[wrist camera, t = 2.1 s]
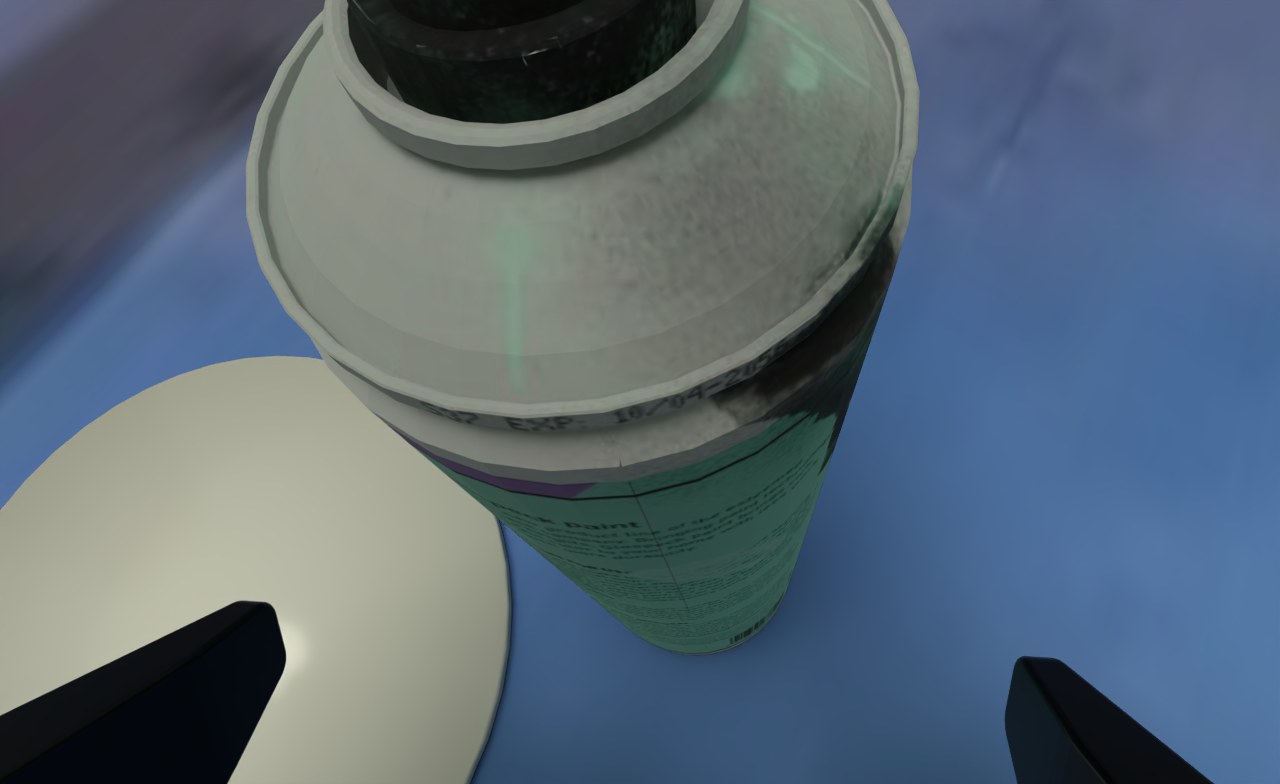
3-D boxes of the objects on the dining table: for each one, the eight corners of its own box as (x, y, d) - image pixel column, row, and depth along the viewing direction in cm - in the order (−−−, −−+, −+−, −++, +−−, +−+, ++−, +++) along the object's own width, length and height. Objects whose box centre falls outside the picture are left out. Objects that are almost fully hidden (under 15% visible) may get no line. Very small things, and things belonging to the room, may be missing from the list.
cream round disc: (617, 485, 23) (614, 479, 22) (272, 1181, 17) (257, 1196, 17) (183, 296, 28) (172, 287, 27) (-196, 791, 22) (-219, 793, 22)
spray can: (809, 490, 22) (1113, -555, 4) (766, 682, 20) (980, 331, 2) (632, 446, 23) (255, -508, 5) (575, 623, 22) (-322, 81, 3)
